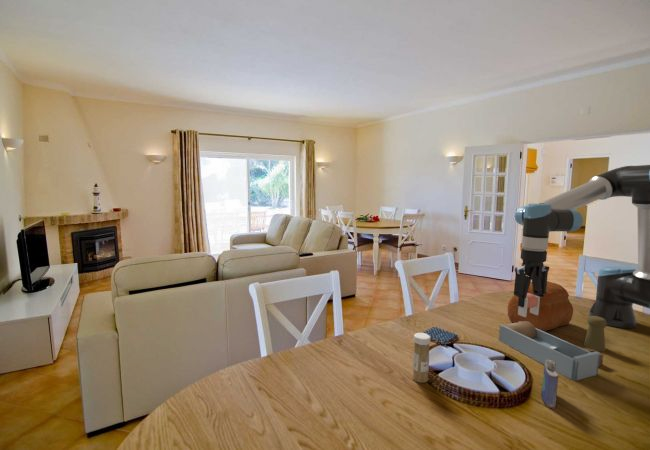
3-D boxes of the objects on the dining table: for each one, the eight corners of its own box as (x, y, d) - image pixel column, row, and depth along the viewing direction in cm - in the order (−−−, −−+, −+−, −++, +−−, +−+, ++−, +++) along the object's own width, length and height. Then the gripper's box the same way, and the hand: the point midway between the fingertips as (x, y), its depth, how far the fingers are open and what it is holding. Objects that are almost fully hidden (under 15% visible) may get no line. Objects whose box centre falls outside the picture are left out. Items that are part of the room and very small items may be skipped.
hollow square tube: (590, 359, 110) (591, 349, 109) (602, 364, 107) (603, 354, 106) (583, 361, 109) (584, 351, 108) (595, 366, 106) (596, 356, 105)
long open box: (519, 336, 126) (520, 317, 125) (597, 374, 101) (600, 351, 100) (498, 340, 123) (500, 320, 122) (574, 381, 98) (577, 356, 97)
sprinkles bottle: (428, 384, 96) (430, 340, 94) (411, 381, 97) (413, 337, 95) (428, 375, 100) (430, 333, 98) (412, 373, 101) (414, 331, 100)
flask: (556, 410, 85) (559, 370, 84) (542, 406, 87) (545, 367, 85) (552, 390, 93) (555, 354, 92) (539, 387, 95) (542, 351, 93)
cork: (609, 352, 115) (612, 321, 113) (589, 350, 116) (592, 319, 115) (598, 343, 121) (602, 314, 119) (579, 342, 122) (582, 313, 120)
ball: (540, 309, 115) (541, 295, 114) (529, 310, 113) (531, 296, 112) (527, 304, 119) (528, 290, 119) (516, 305, 118) (518, 292, 117)
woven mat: (445, 348, 118) (446, 343, 117) (419, 338, 126) (419, 333, 125) (460, 339, 124) (460, 334, 124) (434, 330, 132) (434, 325, 132)
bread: (575, 325, 136) (579, 285, 134) (544, 336, 127) (548, 293, 124) (532, 311, 152) (535, 275, 150) (502, 319, 142) (504, 281, 140)
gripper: (542, 245, 120) (536, 308, 123) (504, 248, 114) (499, 313, 117) (563, 249, 113) (556, 315, 116) (524, 252, 107) (518, 322, 110)
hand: (528, 314), depth 116 cm, fingers closed on ball, 5 cm apart
